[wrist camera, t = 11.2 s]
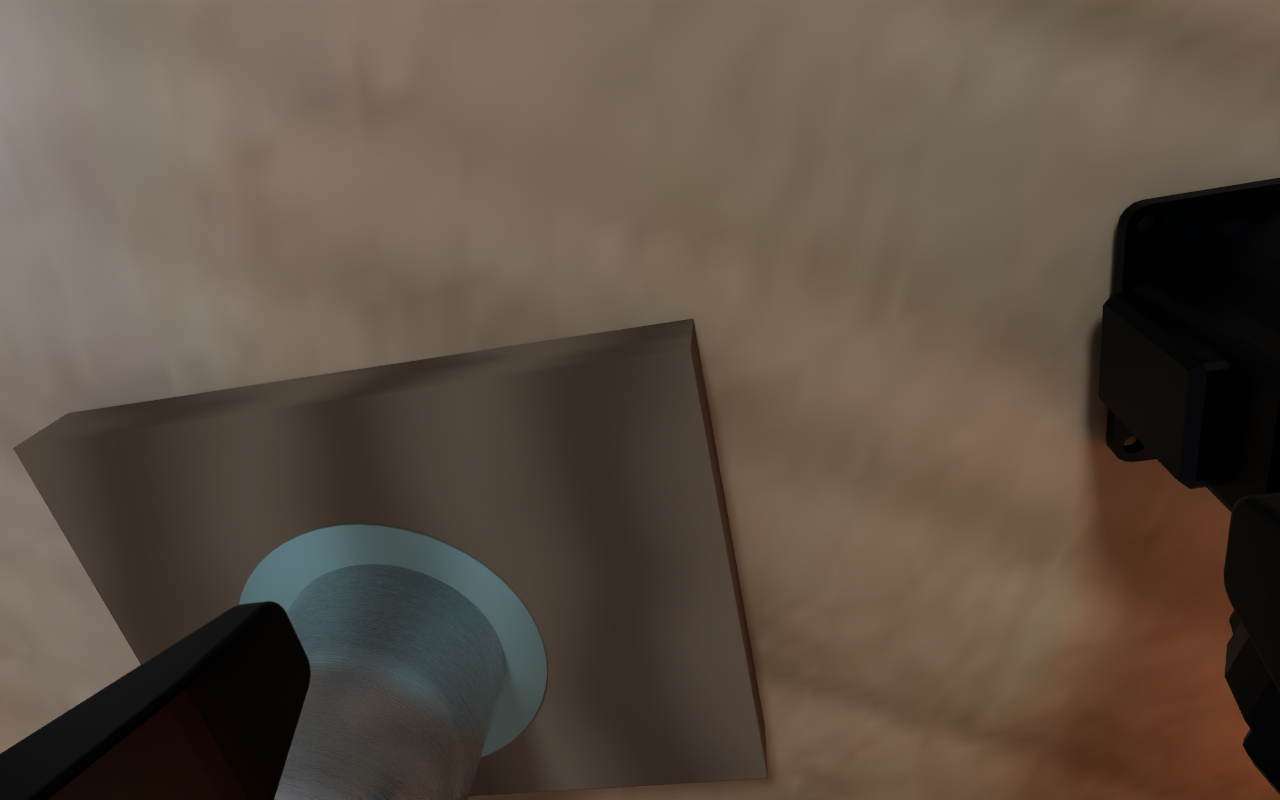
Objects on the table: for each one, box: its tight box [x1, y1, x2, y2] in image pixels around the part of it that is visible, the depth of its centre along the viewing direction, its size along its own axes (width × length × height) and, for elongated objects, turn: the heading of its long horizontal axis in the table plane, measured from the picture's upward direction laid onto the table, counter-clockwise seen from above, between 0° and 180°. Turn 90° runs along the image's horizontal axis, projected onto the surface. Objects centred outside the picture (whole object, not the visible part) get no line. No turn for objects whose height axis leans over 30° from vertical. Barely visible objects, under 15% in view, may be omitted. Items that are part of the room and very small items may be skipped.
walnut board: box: [13, 319, 768, 796], centre depth 24 cm, size 18×14×2 cm
